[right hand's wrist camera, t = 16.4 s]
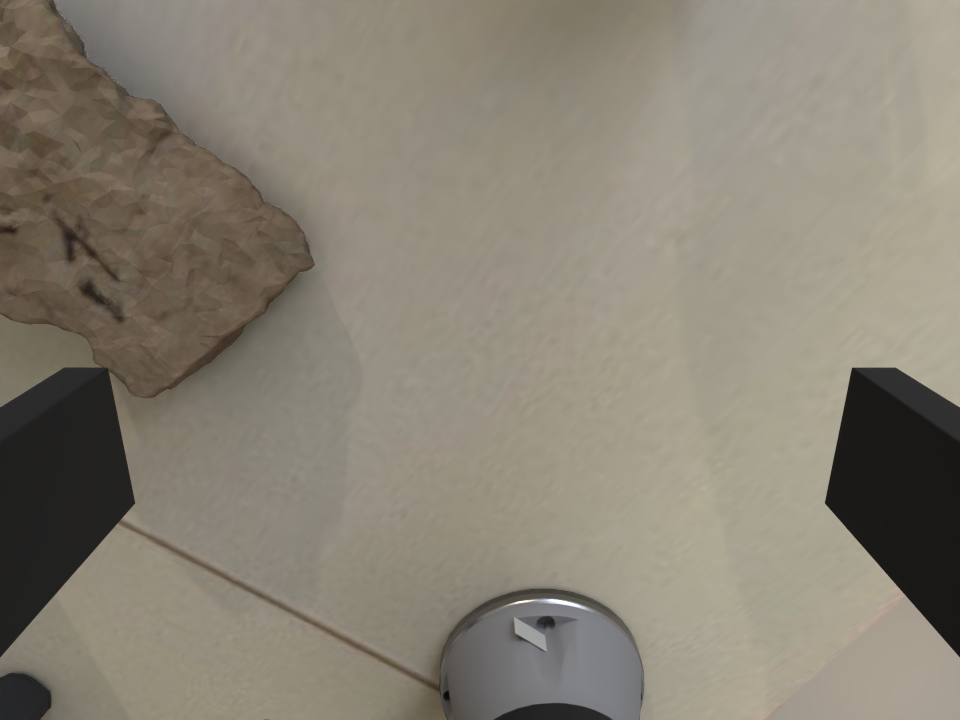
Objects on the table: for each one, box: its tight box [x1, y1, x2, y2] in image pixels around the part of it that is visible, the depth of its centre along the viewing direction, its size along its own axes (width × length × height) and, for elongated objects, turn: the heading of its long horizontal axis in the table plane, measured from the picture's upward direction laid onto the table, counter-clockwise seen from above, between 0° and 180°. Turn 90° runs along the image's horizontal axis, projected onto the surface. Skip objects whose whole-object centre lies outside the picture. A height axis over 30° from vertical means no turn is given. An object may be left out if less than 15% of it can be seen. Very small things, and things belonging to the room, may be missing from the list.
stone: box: [0, 0, 315, 398], centre depth 38 cm, size 21×15×6 cm
